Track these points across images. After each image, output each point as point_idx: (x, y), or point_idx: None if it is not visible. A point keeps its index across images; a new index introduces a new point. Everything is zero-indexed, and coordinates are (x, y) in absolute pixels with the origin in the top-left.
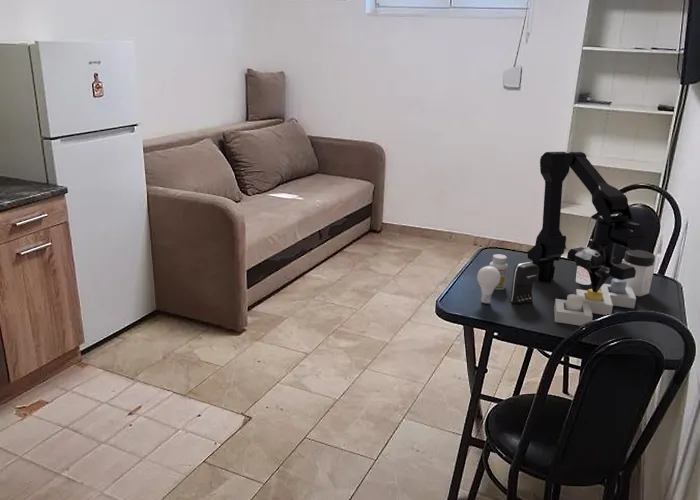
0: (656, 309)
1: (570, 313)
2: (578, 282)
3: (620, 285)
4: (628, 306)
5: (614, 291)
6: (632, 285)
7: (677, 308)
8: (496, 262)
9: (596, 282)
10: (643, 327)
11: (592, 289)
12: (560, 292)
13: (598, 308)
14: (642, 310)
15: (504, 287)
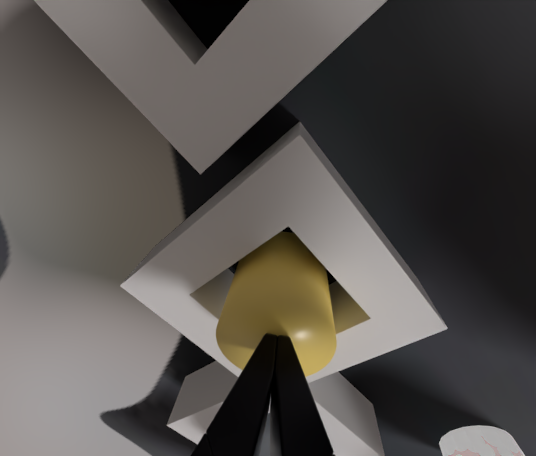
0: (153, 412)
1: None
2: (492, 429)
3: None
4: (198, 373)
5: (266, 428)
6: None
7: (141, 447)
8: None
9: (230, 434)
10: (8, 257)
11: (290, 347)
12: (532, 287)
13: (188, 221)
14: (161, 381)
15: None
